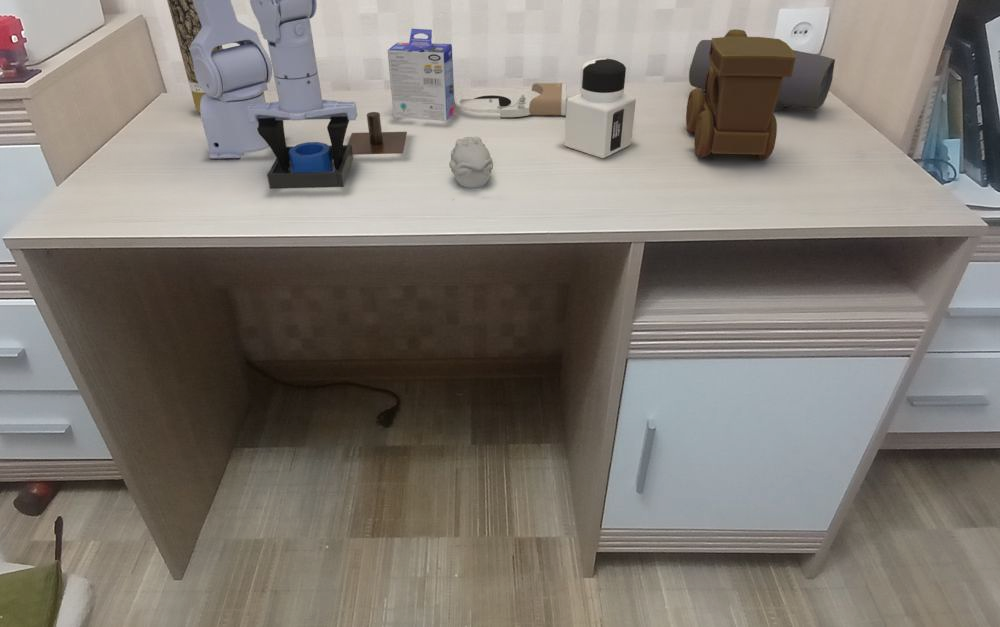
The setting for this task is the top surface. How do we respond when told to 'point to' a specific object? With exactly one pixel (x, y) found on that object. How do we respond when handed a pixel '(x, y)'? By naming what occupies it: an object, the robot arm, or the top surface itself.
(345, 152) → the tray
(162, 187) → the top surface
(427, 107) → the ink cartridge box
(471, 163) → the frog figurine
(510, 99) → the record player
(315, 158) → the tape roll
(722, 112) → the wooden toy train
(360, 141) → the tape holder
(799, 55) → the bluetooth speaker
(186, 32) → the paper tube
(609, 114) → the container
